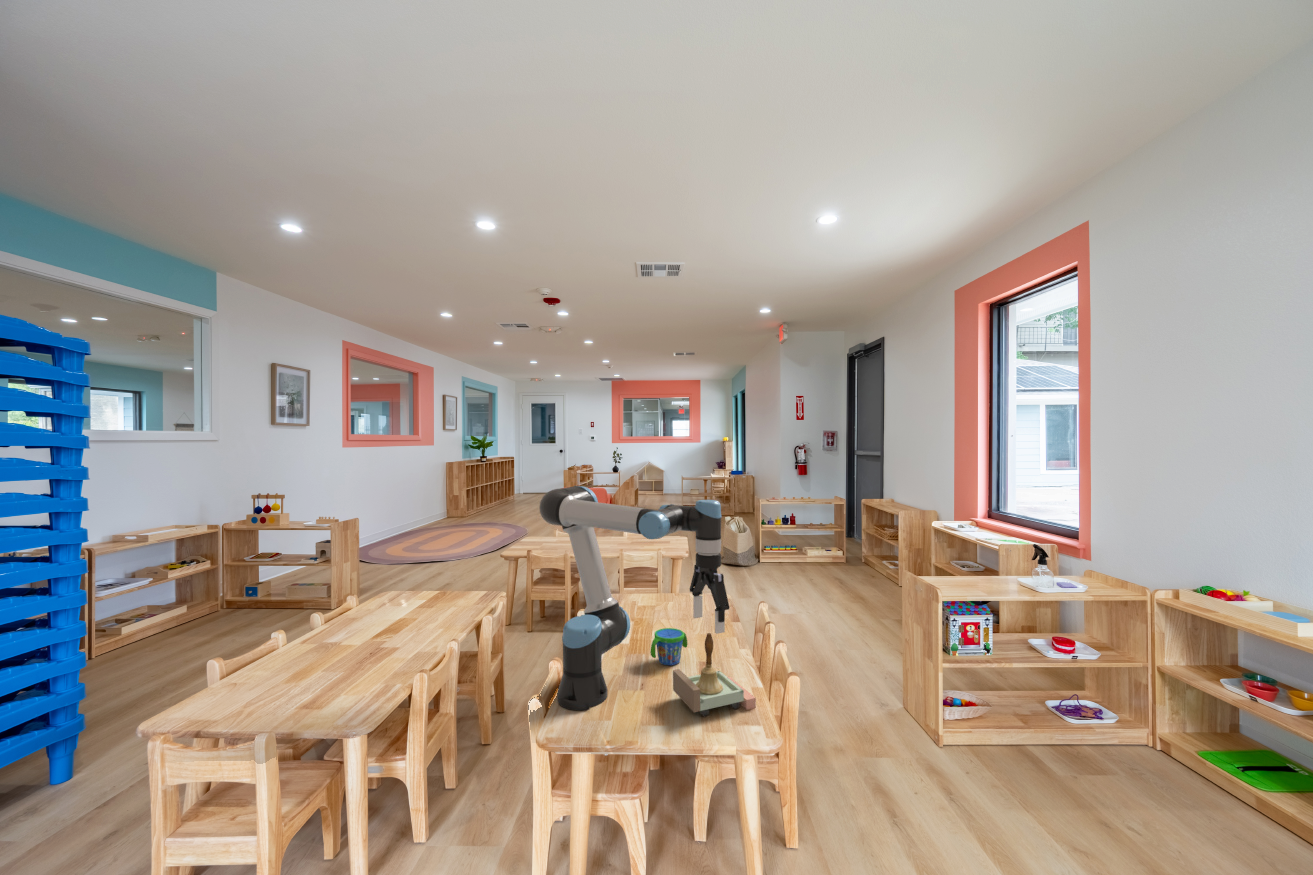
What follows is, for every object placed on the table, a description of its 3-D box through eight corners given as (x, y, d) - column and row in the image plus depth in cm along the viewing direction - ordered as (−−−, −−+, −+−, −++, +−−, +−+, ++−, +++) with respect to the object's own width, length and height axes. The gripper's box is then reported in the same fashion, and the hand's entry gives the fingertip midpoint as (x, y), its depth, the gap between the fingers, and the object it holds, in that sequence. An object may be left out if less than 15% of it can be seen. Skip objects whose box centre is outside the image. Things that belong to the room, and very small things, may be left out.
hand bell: (705, 678, 158) (704, 626, 158) (728, 686, 153) (727, 632, 153) (689, 689, 152) (688, 634, 152) (713, 697, 146) (712, 641, 147)
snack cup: (678, 651, 191) (678, 624, 191) (696, 661, 183) (695, 632, 183) (642, 661, 183) (642, 632, 183) (659, 672, 174) (659, 642, 174)
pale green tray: (693, 720, 143) (693, 690, 143) (673, 697, 155) (672, 669, 156) (743, 709, 149) (743, 679, 149) (719, 687, 162) (719, 660, 162)
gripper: (741, 560, 143) (741, 637, 143) (700, 543, 166) (700, 610, 166) (717, 563, 140) (717, 641, 140) (679, 545, 163) (679, 613, 163)
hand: (708, 624), depth 153 cm, fingers open, 13 cm apart
